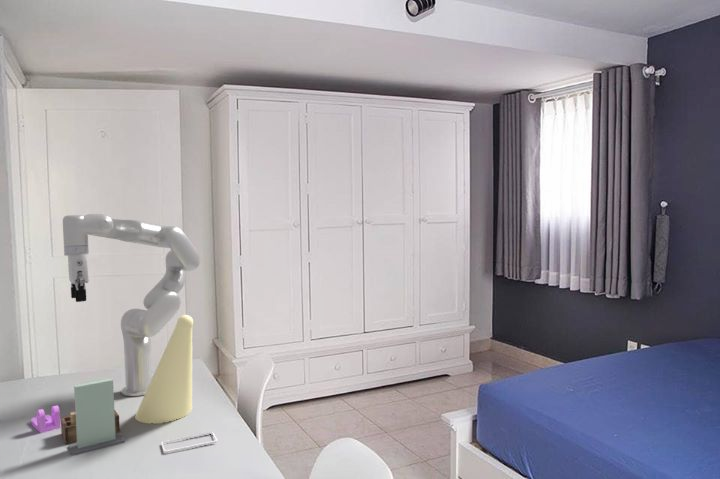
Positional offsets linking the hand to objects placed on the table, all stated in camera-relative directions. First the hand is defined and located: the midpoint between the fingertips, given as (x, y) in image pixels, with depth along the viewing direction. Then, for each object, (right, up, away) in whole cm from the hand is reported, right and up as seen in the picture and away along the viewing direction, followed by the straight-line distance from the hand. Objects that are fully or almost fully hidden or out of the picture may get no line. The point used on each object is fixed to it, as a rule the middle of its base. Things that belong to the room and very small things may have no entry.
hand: (78, 299), depth 188 cm
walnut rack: (+14, -39, -20) cm, 46 cm away
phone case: (+48, -40, -29) cm, 69 cm away
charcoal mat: (+20, -40, -28) cm, 53 cm away
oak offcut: (+13, -40, -23) cm, 48 cm away
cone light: (+34, -38, -6) cm, 52 cm away
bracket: (-4, -40, -13) cm, 42 cm away
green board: (+20, -39, -28) cm, 52 cm away
